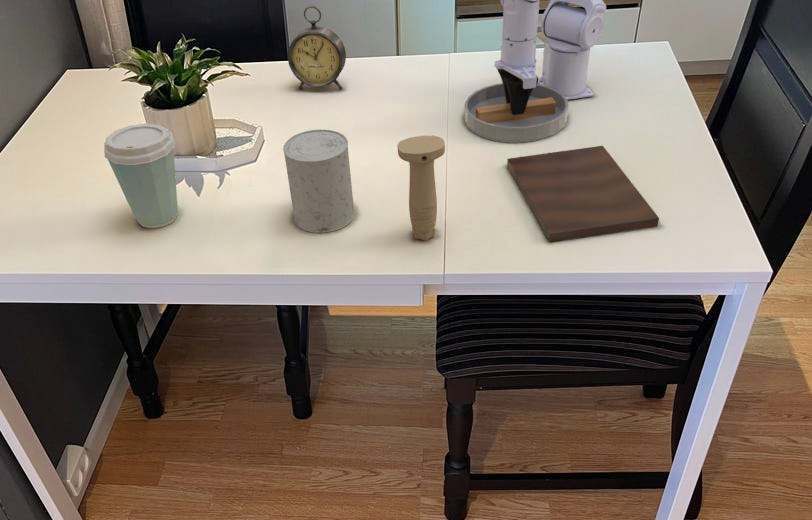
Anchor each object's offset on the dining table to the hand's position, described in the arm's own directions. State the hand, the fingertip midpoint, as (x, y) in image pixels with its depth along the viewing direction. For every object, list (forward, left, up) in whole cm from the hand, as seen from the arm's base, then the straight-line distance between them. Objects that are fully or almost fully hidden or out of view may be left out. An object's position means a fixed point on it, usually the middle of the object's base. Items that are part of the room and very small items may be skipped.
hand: (515, 110), depth 141 cm
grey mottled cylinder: (+23, -37, -2) cm, 44 cm away
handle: (+32, -23, -2) cm, 39 cm away
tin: (0, 0, -2) cm, 2 cm away
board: (+27, +2, -2) cm, 27 cm away
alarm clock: (-24, -33, -2) cm, 41 cm away
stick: (0, 0, -1) cm, 1 cm away
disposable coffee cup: (+17, -63, -2) cm, 65 cm away
